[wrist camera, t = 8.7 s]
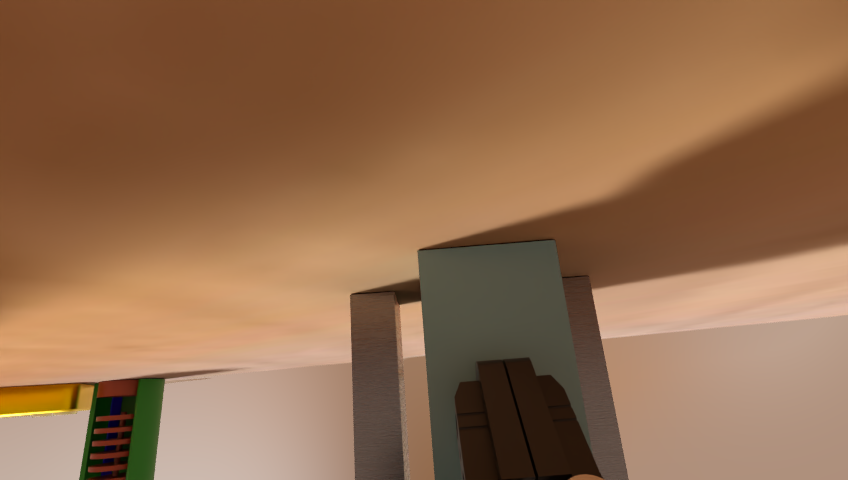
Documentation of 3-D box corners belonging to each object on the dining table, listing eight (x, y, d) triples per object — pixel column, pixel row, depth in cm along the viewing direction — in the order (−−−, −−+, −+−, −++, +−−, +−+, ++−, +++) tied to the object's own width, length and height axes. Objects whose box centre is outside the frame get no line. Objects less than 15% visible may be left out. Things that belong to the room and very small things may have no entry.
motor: (118, 379, 66) (98, 535, 60) (177, 377, 73) (165, 516, 67) (85, 383, 71) (64, 528, 65) (144, 381, 78) (130, 511, 72)
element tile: (79, 380, 68) (74, 413, 67) (97, 383, 81) (93, 412, 79) (-55, 388, 62) (-63, 425, 60) (-12, 390, 74) (-19, 421, 73)
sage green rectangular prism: (417, 250, 15) (453, 721, 11) (555, 239, 15) (636, 705, 11) (425, 311, 27) (443, 541, 23) (499, 305, 27) (529, 534, 23)
